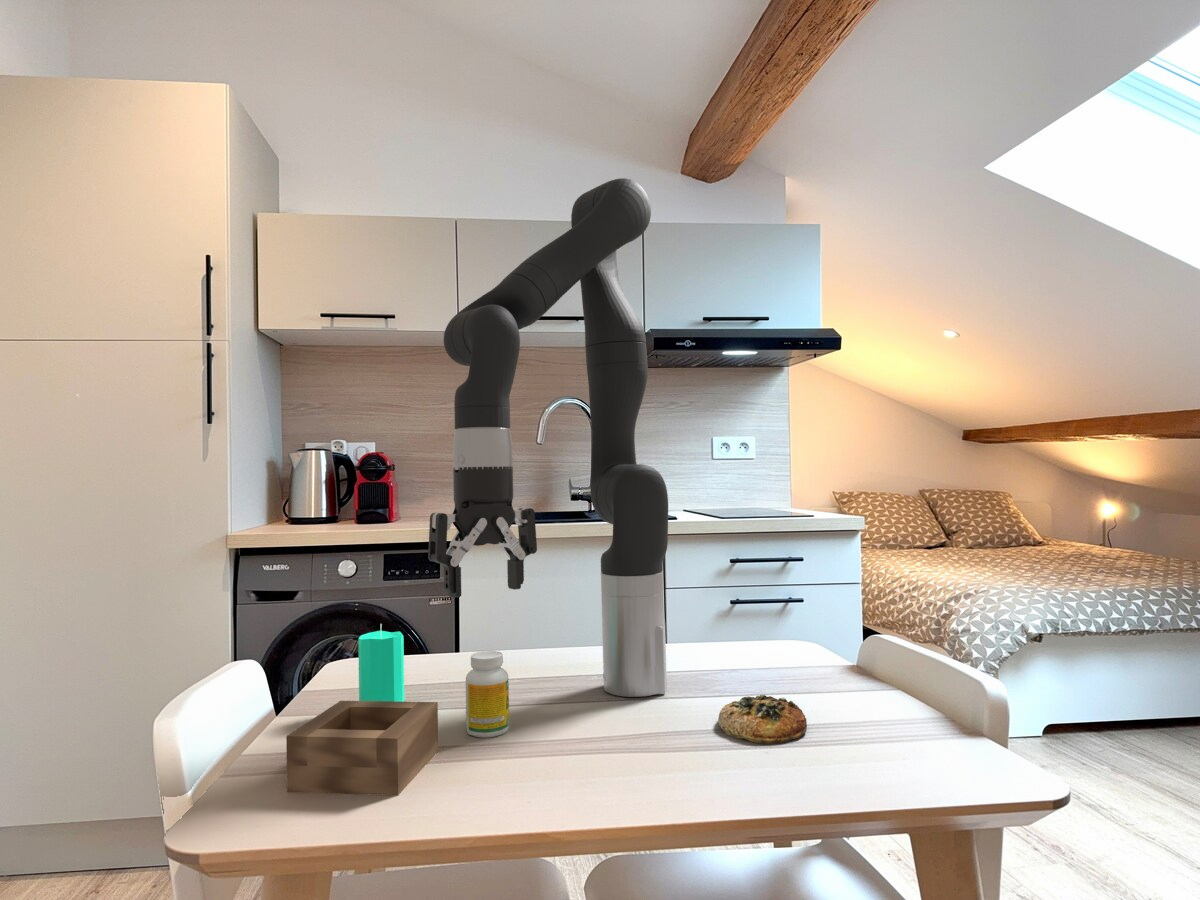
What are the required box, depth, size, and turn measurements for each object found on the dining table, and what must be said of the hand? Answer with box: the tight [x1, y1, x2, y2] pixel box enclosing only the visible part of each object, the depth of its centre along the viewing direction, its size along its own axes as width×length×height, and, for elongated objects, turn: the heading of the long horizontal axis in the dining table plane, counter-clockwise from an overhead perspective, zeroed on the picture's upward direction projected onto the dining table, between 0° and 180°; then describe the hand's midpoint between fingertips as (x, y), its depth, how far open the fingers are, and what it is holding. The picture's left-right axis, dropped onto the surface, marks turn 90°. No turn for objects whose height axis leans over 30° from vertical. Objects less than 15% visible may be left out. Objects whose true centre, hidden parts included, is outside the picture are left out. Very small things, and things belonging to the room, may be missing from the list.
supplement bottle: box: [465, 650, 510, 739], centre depth 94 cm, size 5×5×10 cm
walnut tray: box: [285, 700, 439, 796], centre depth 82 cm, size 12×12×6 cm
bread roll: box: [717, 694, 808, 745], centre depth 93 cm, size 11×11×5 cm
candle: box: [357, 623, 405, 702], centre depth 103 cm, size 6×6×12 cm
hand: (485, 592), depth 95 cm, fingers open, 8 cm apart
